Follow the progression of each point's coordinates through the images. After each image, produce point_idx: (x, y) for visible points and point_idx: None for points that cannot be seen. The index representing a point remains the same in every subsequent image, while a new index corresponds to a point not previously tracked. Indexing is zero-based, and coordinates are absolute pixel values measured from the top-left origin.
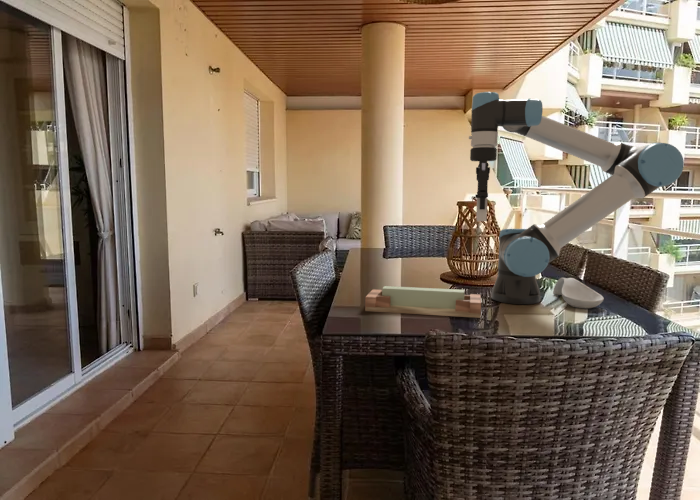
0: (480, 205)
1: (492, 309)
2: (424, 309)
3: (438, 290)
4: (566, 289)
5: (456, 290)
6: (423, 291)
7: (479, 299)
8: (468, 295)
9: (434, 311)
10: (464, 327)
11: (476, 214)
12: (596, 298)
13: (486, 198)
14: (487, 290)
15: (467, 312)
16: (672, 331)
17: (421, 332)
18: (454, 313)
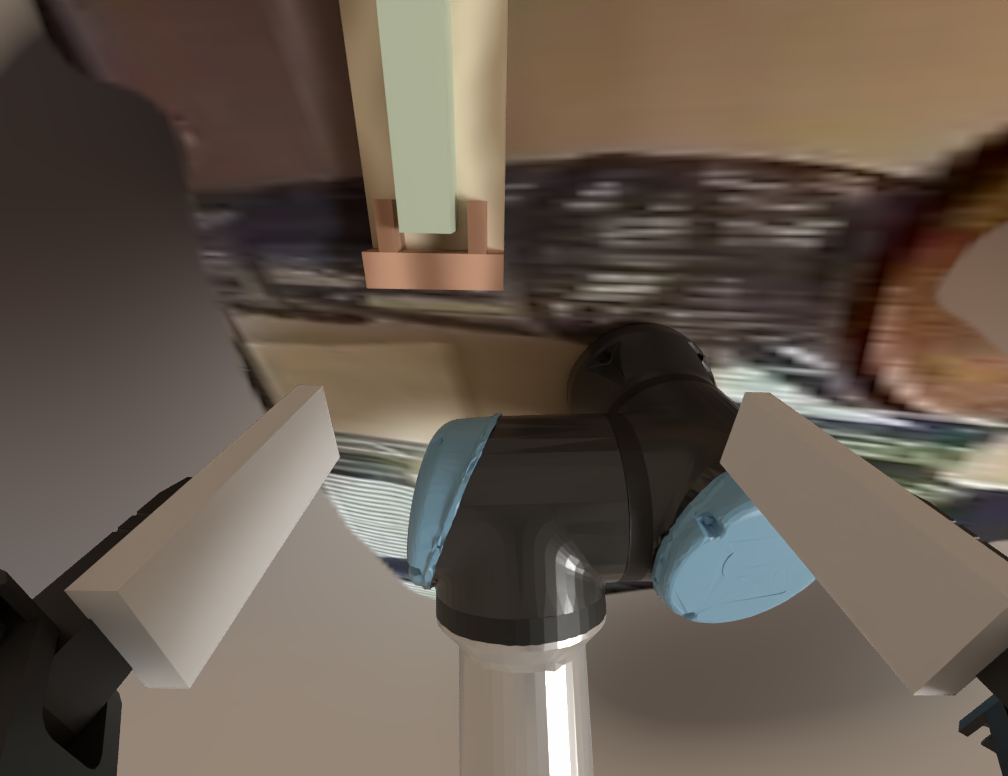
0: (138, 521)
1: (495, 317)
2: (363, 68)
3: (403, 114)
4: None
5: (428, 200)
6: (380, 31)
7: (420, 284)
8: (474, 248)
9: (356, 116)
10: (255, 229)
11: (768, 412)
12: None
13: (143, 676)
14: (777, 316)
15: (377, 240)
16: (408, 586)
17: (123, 84)
18: (367, 196)
